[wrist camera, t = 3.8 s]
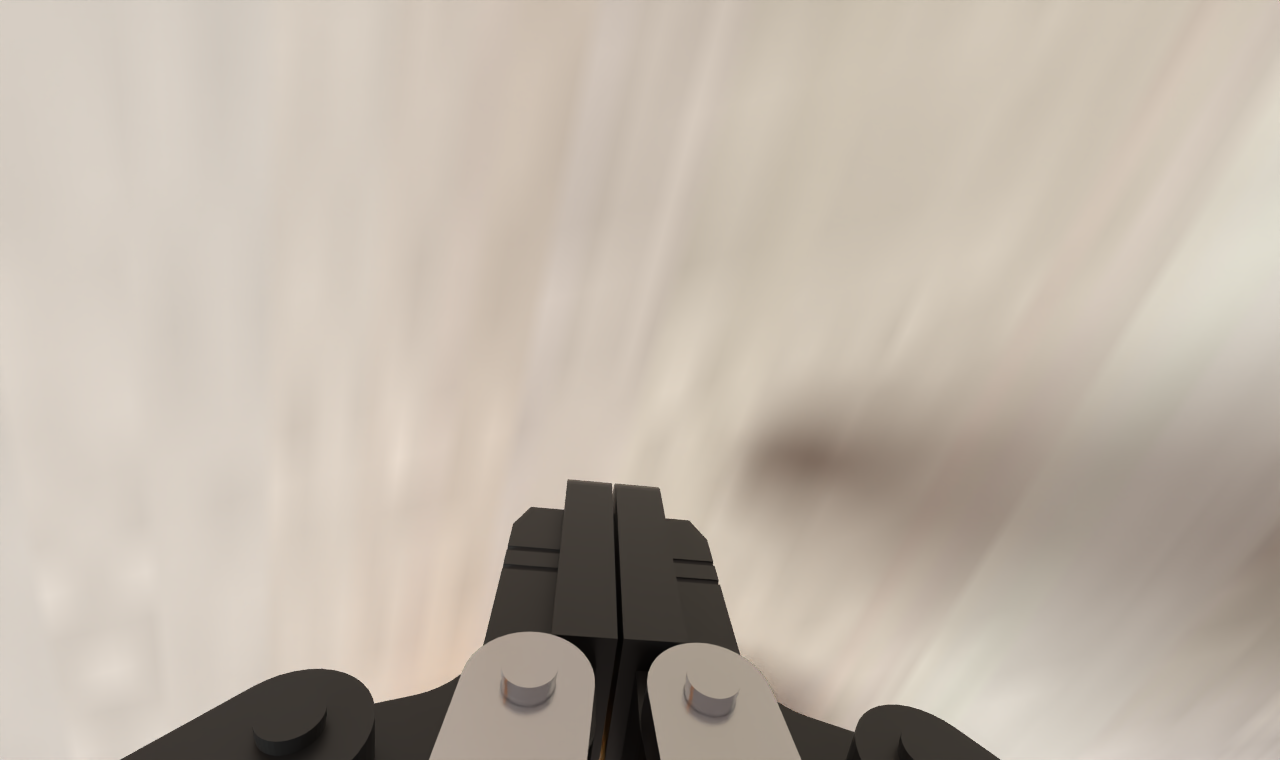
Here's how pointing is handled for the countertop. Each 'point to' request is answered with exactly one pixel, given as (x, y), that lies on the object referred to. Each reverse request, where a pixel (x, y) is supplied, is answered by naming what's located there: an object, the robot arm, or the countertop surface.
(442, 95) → the countertop surface
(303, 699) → the robot arm
